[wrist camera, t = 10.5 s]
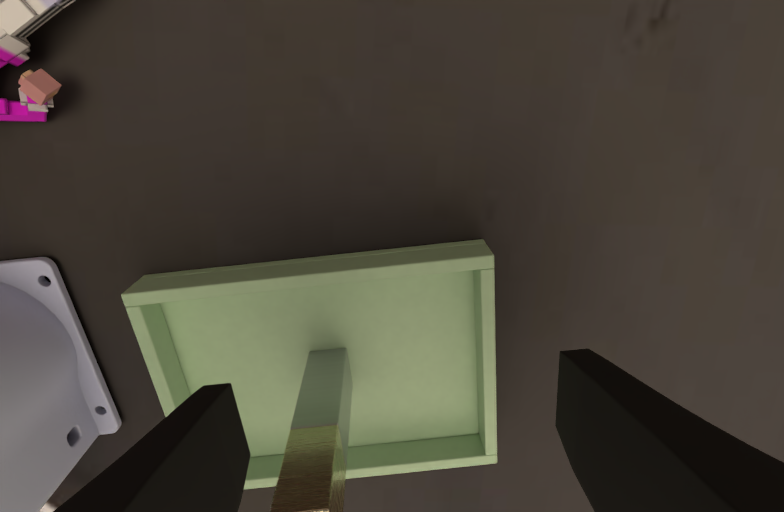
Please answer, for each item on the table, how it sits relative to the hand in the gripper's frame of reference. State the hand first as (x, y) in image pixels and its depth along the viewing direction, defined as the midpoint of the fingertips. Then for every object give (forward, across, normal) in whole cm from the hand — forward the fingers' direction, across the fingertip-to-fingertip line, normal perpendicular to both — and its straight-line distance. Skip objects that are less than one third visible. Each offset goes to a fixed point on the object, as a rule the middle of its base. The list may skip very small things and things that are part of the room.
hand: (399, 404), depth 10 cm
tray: (+10, +3, +6) cm, 12 cm away
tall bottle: (+10, +3, +6) cm, 12 cm away
